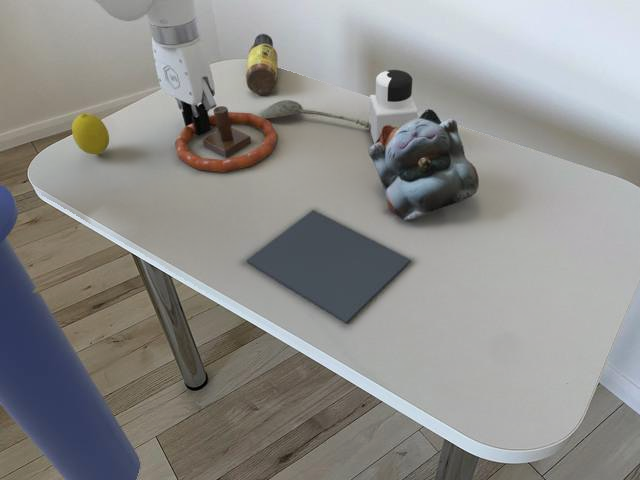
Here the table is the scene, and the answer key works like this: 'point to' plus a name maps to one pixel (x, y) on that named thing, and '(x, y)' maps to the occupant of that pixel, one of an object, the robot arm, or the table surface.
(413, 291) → the table surface
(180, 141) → the ring
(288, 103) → the soupspoon
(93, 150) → the lemon
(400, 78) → the medicine bottle
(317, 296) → the mat
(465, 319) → the table surface
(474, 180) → the lucky cat figurine
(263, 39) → the sauce bottle
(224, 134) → the post stand
